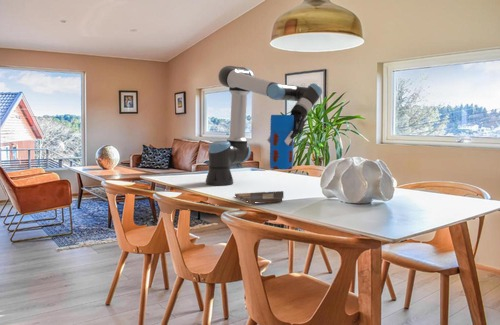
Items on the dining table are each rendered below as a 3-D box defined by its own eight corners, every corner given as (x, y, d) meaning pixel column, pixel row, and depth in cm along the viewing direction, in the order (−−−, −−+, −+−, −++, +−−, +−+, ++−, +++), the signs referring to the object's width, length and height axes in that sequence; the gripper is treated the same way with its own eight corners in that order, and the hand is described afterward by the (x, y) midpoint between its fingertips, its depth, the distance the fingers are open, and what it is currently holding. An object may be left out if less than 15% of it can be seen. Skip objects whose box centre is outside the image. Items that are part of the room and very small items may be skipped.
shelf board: (235, 196, 201) (235, 187, 201) (264, 194, 207) (264, 185, 207) (251, 204, 184) (251, 193, 183) (283, 201, 190) (283, 191, 189)
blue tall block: (284, 170, 200) (285, 114, 197) (265, 168, 206) (266, 114, 204) (297, 168, 208) (298, 115, 206) (278, 166, 215) (279, 115, 212)
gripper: (323, 115, 206) (299, 149, 197) (287, 115, 223) (264, 146, 215) (316, 103, 202) (291, 138, 193) (280, 104, 220) (256, 135, 211)
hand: (277, 142), depth 204 cm, fingers closed on blue tall block, 11 cm apart
